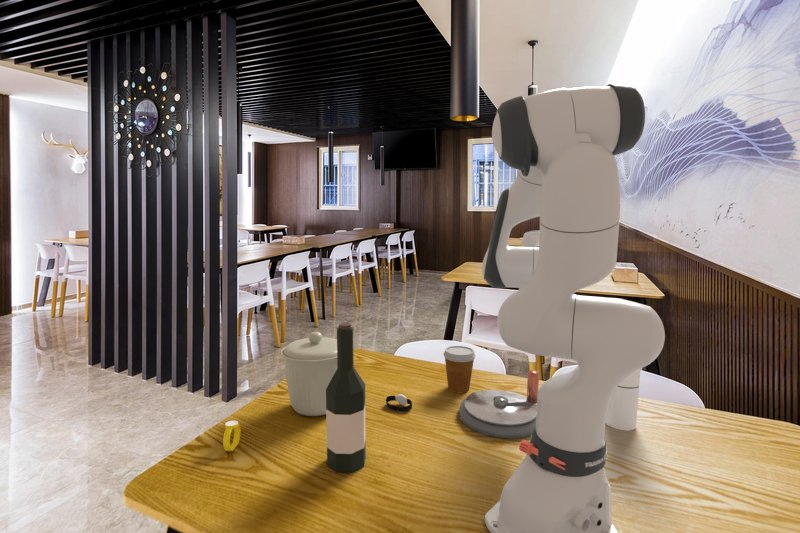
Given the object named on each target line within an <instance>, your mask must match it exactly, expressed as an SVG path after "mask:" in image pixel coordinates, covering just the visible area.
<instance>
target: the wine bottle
mask: <svg viewBox="0 0 800 533" xmlns="http://www.w3.org/2000/svg"><path fill="white" fill-rule="evenodd" d="M336 339H337V370H336V372H335V374H334V376H333V377H332V379H331V381H330V383H329V385H328V387H327V389H326V415H325V416H326V418H325V419H326V423H325V424H326V462H327V464H326V465H327V467H328V468H330V469H331V470H332V471H334V472H335V473H336V474H352V473H354V472H356V471H359V470H360V469H362V468H364V467H365V465H366V464H365V463H366V455H367V454H366V452H367V449H366V446H367V445H366V442H367V441H366V439H367V438H366V437H367V436H366V433H367V432H366V383H365V381H364V380H363V379H362V377H361V376H360V374H359V372H358V371H357V370H356V368H355V365H354V364H355V363H354V359H355V358H354V327H353V326H352V323H349V322H340V323H339V325H338V327H337V328H336Z"/></svg>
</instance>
